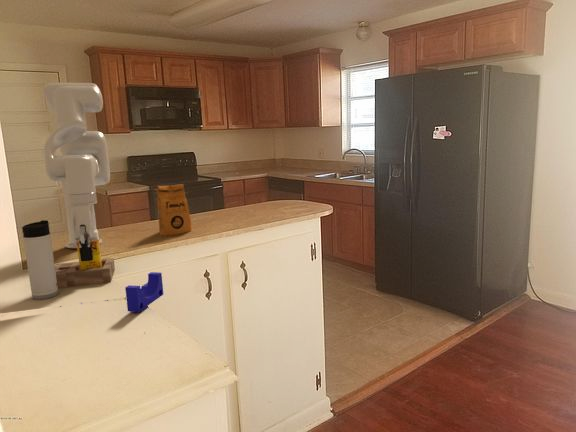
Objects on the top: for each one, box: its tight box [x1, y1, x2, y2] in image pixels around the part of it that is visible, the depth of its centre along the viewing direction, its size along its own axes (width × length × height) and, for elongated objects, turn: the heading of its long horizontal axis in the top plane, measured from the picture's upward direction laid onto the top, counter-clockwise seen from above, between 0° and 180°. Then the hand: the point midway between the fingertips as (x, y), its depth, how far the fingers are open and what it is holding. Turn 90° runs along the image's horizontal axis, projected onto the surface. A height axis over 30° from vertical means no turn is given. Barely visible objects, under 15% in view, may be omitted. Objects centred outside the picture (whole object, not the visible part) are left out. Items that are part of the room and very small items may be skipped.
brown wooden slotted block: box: [54, 257, 116, 289], centre depth 134 cm, size 12×17×4 cm
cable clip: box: [125, 271, 164, 313], centre depth 114 cm, size 12×4×6 cm, turn 167°
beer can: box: [76, 227, 102, 270], centre depth 134 cm, size 6×6×15 cm
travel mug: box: [21, 219, 59, 301], centre depth 120 cm, size 6×7×20 cm
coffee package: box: [156, 183, 193, 237], centre depth 182 cm, size 10×12×22 cm
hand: (89, 256), depth 134 cm, fingers open, 9 cm apart
